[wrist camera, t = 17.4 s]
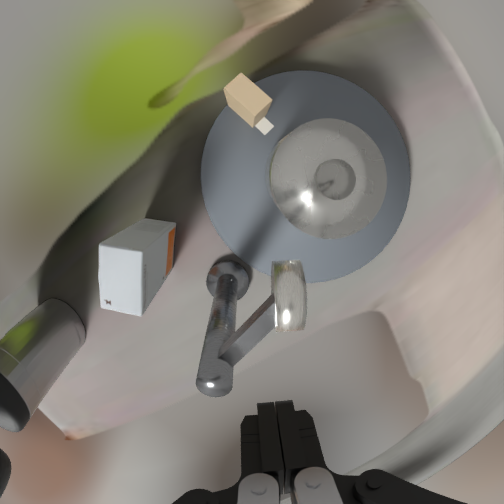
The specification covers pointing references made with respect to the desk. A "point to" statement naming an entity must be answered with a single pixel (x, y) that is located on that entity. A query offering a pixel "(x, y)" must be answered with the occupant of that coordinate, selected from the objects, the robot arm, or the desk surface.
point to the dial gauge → (255, 328)
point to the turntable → (254, 162)
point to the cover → (327, 178)
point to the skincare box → (135, 265)
